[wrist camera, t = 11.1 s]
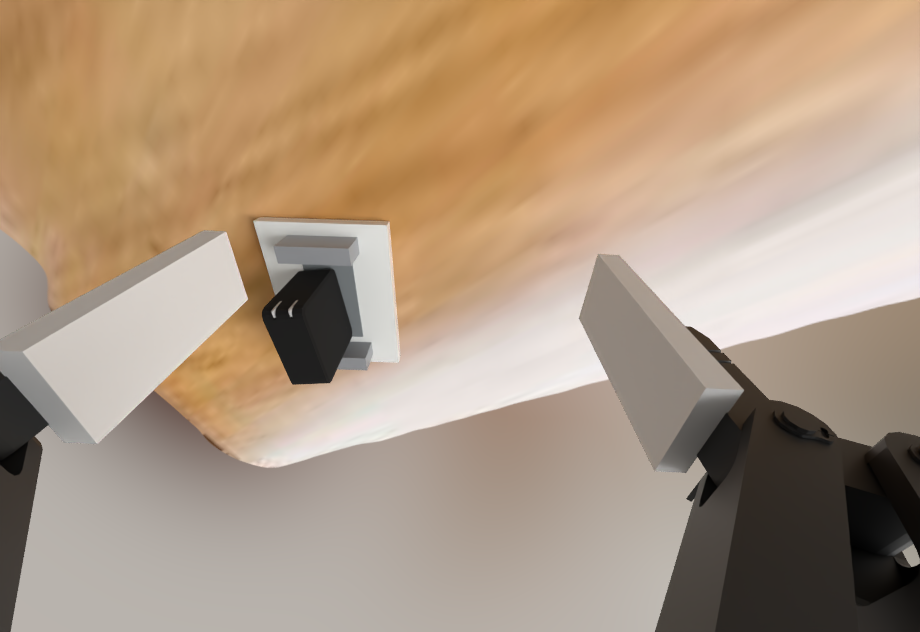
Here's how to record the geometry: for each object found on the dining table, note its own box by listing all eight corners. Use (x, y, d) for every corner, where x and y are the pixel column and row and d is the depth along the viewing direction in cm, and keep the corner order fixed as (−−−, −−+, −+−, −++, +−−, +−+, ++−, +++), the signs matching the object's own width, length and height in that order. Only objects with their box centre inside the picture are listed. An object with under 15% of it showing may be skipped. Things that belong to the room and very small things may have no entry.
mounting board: (259, 216, 40) (235, 231, 36) (389, 221, 40) (380, 236, 36) (298, 352, 51) (283, 375, 47) (400, 355, 51) (394, 379, 47)
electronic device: (323, 335, 47) (292, 388, 39) (300, 268, 42) (258, 312, 33) (354, 334, 47) (329, 386, 38) (334, 266, 41) (300, 310, 33)
